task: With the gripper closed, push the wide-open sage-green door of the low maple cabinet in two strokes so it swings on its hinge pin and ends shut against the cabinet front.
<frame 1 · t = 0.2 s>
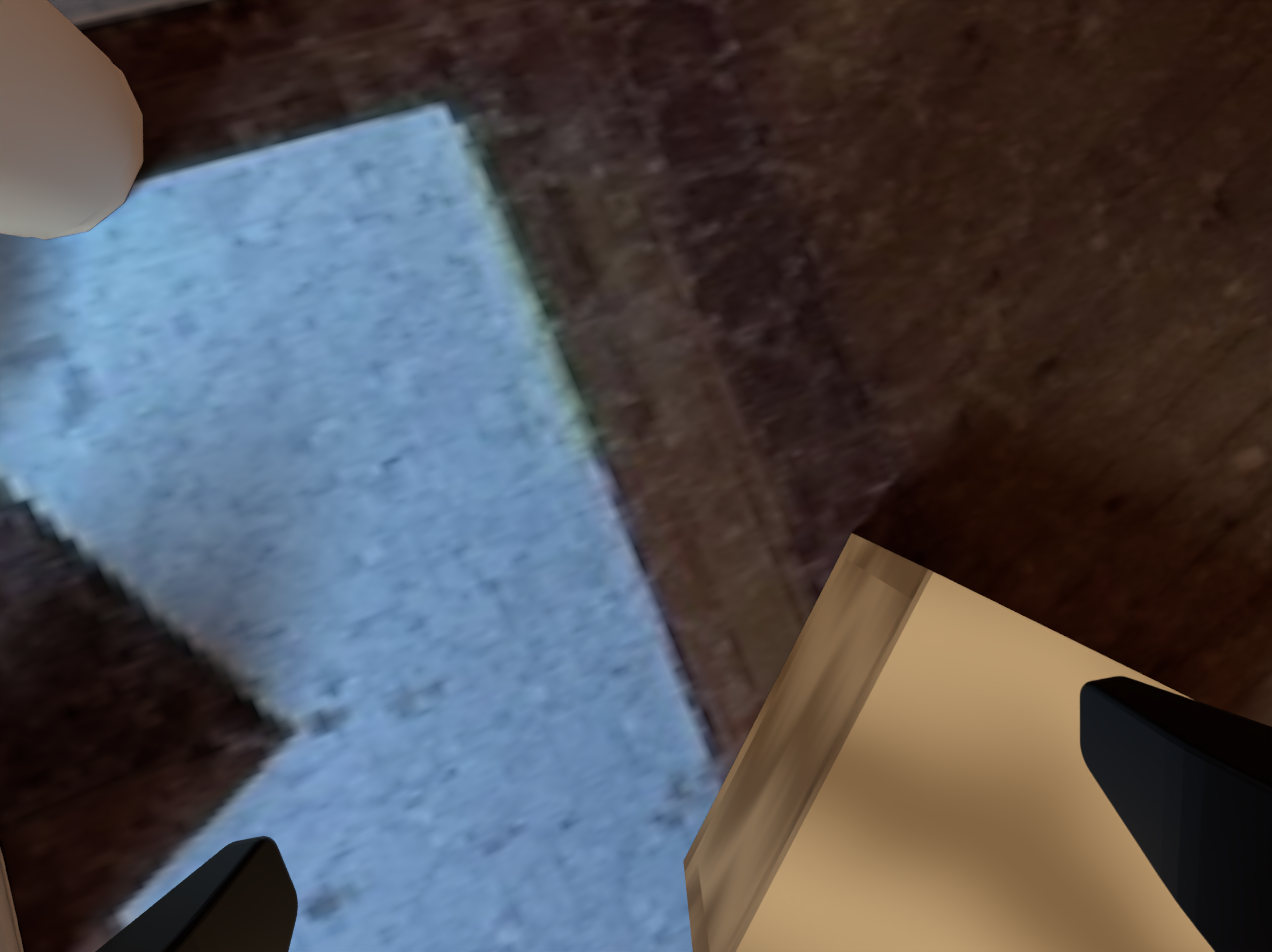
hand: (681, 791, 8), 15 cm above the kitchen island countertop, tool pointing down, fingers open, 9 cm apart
foam cup: (48, 137, 23), on the kitchen island countertop
cabinet: (932, 779, 24), on the kitchen island countertop
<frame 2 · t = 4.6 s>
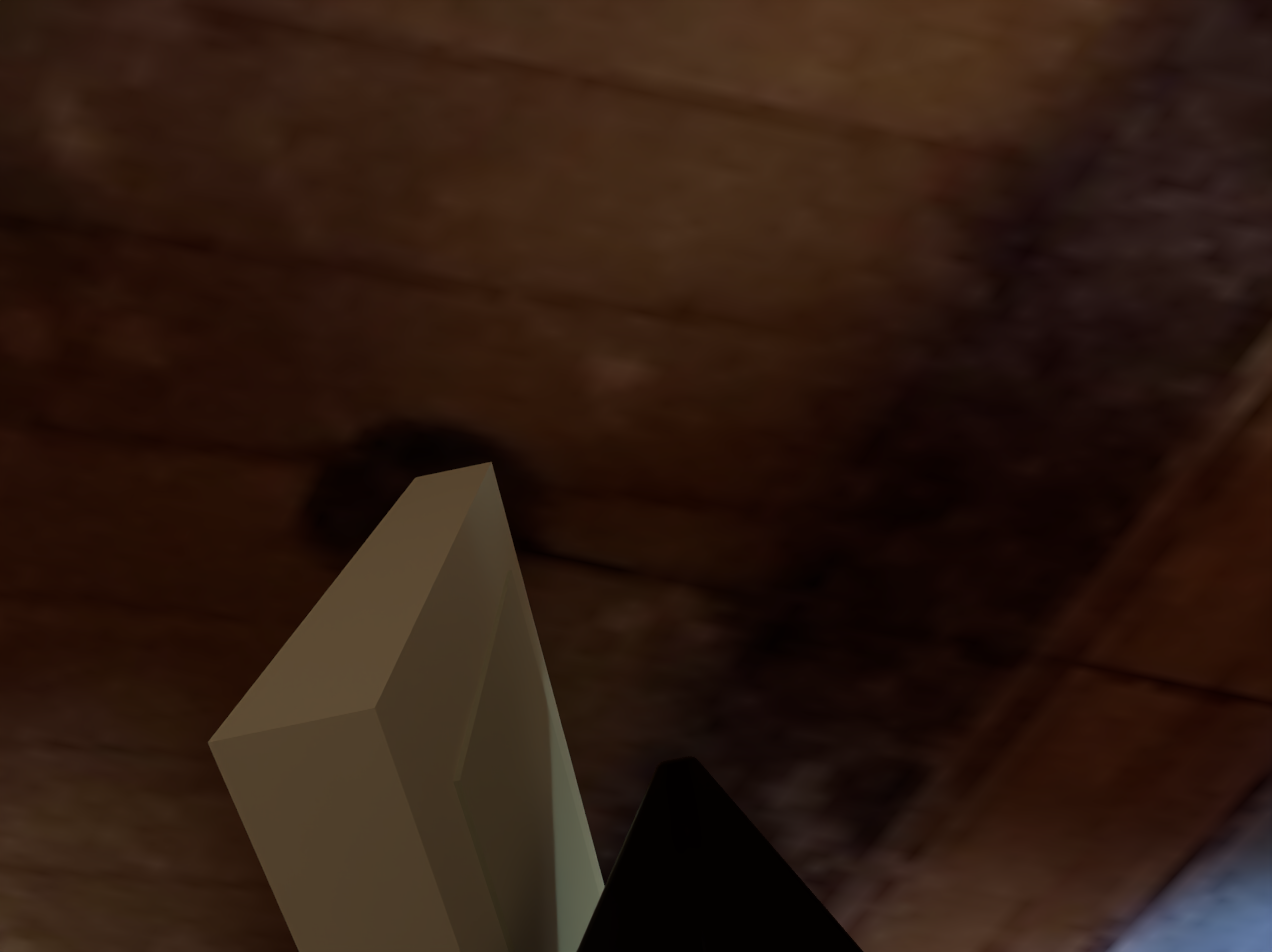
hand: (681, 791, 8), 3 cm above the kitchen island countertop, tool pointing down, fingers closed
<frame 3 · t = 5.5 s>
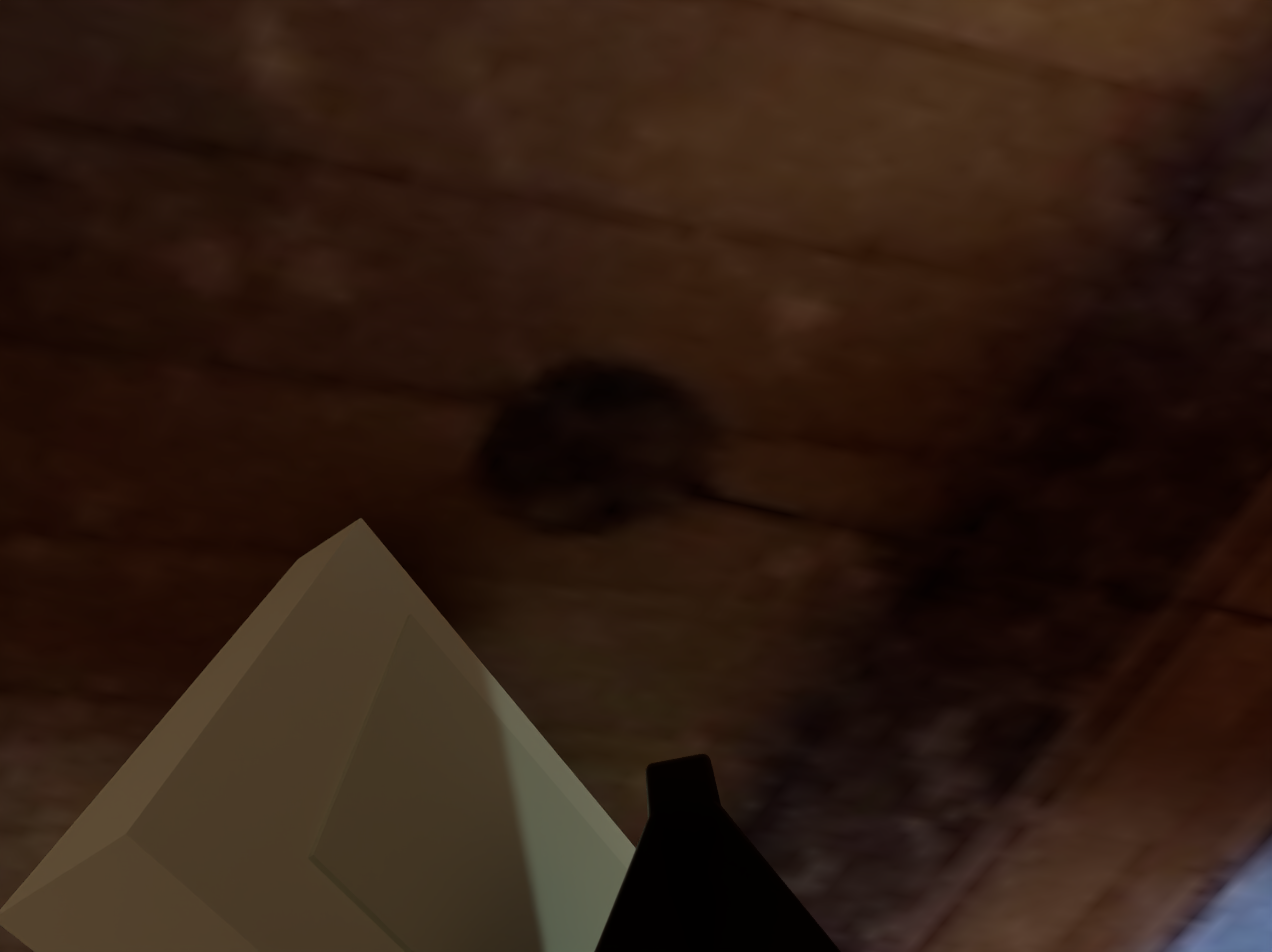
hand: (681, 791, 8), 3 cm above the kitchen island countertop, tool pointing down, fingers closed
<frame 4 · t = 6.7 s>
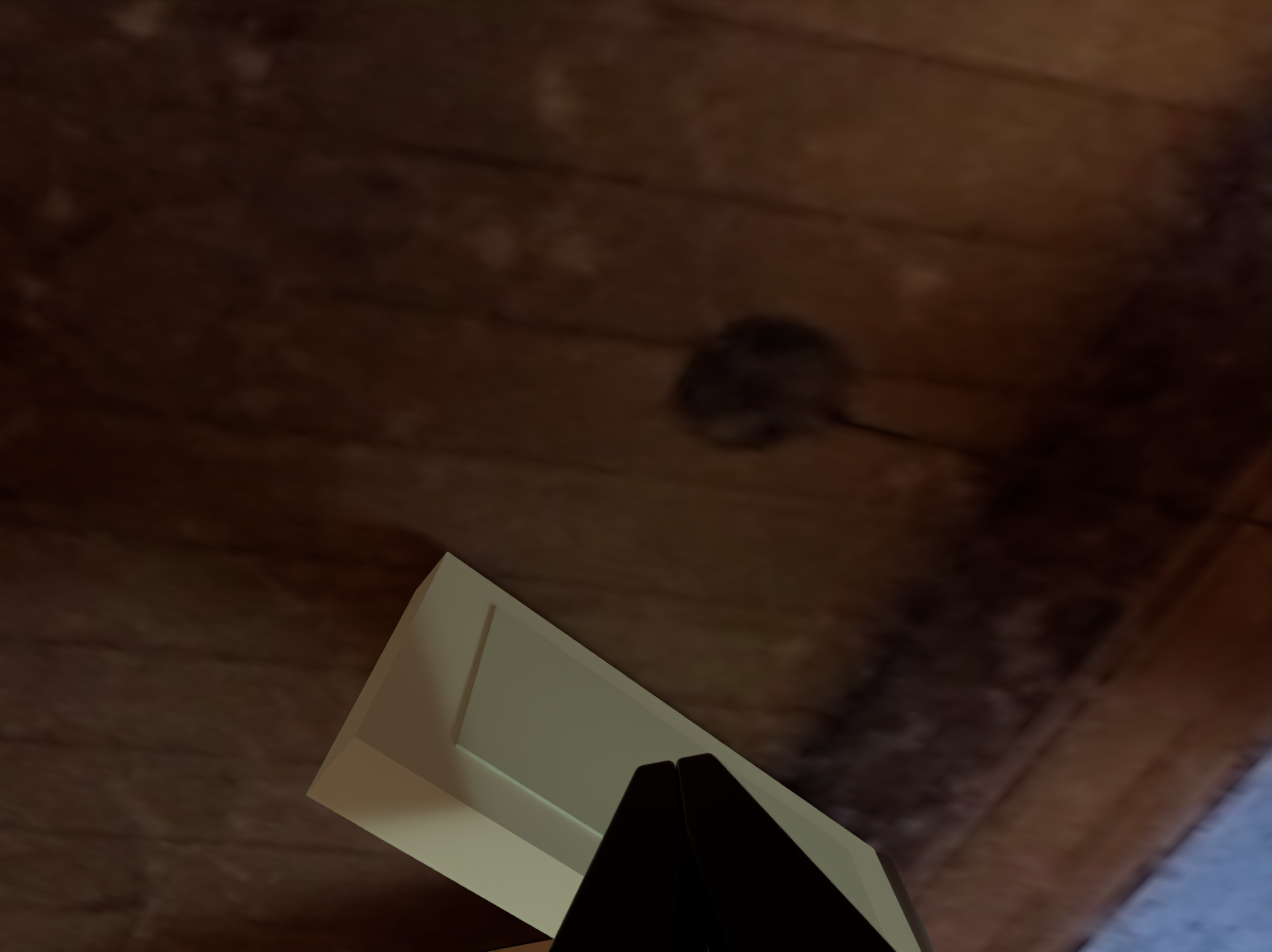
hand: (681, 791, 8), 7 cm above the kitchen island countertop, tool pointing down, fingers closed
door: (699, 843, 12), point 3 cm above the kitchen island countertop, hinge at -50.0°
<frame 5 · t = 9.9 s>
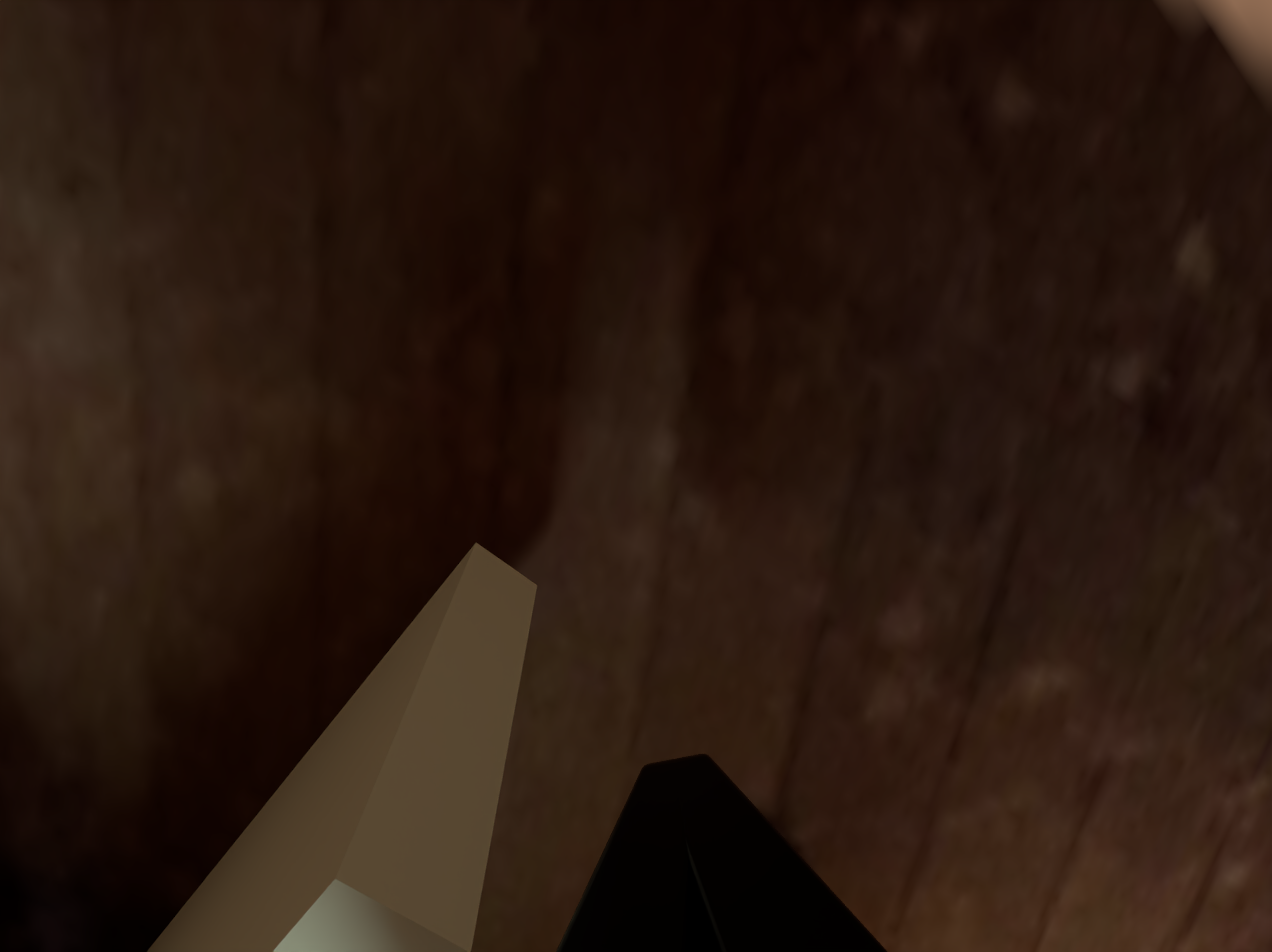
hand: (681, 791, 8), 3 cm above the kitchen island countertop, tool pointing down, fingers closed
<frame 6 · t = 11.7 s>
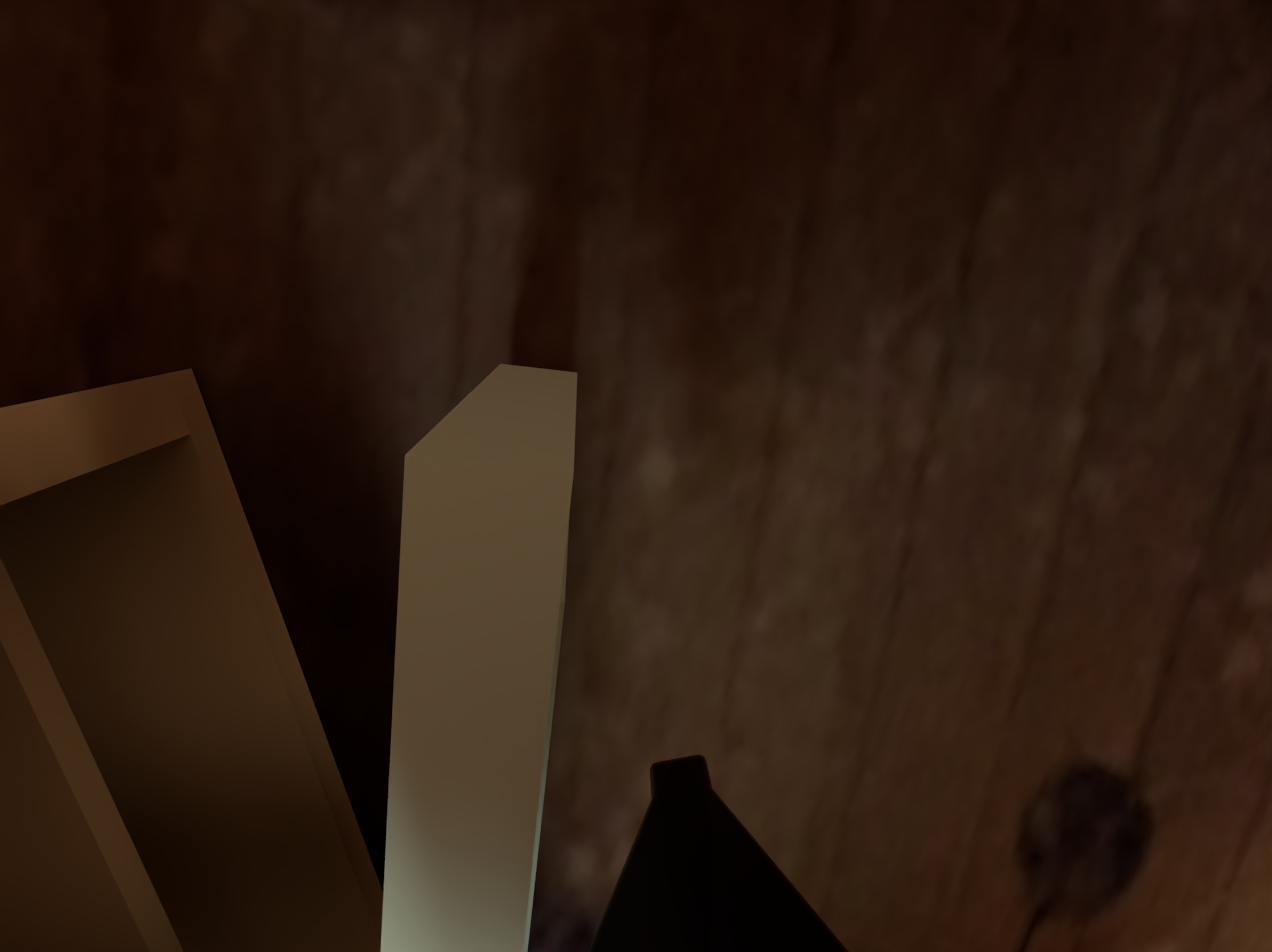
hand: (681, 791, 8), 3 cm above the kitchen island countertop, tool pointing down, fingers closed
door: (480, 923, 8), point 3 cm above the kitchen island countertop, hinge at -18.8°, touching gripper
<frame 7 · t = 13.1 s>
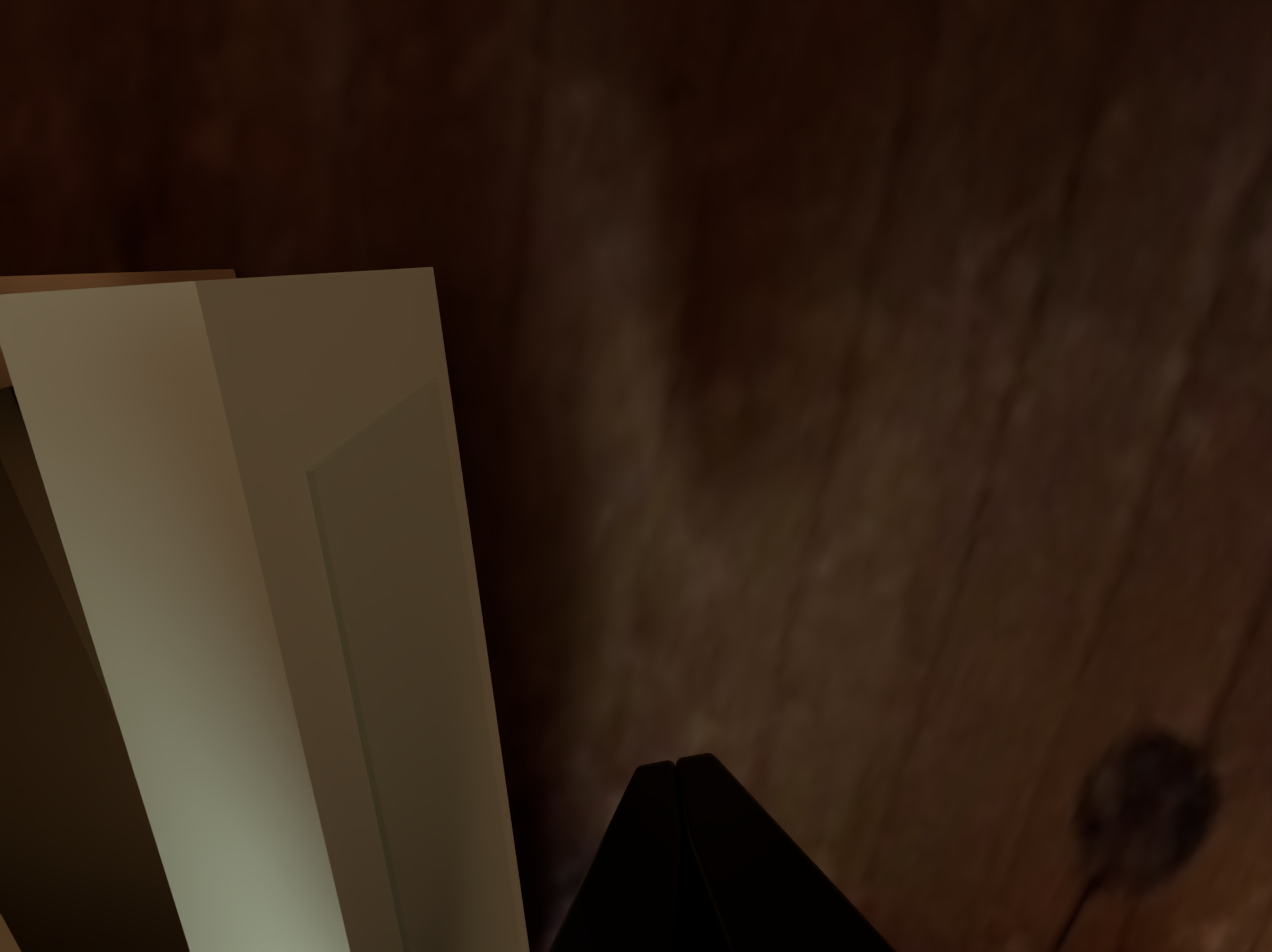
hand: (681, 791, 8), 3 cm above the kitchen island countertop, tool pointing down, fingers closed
door: (417, 862, 8), point 3 cm above the kitchen island countertop, hinge at -6.2°
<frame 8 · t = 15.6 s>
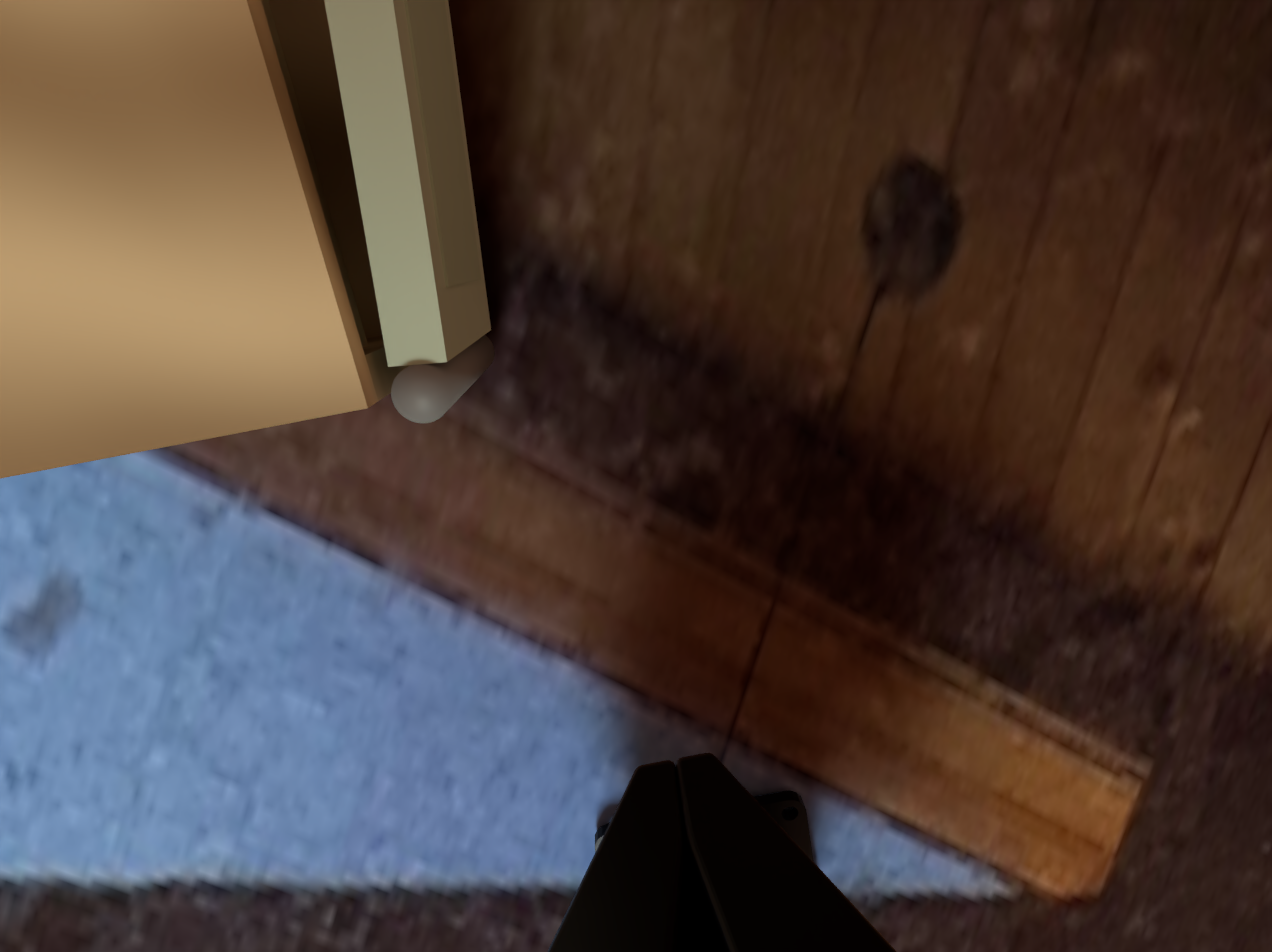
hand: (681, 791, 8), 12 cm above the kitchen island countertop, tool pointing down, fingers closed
cabinet: (117, 143, 17), on the kitchen island countertop
door: (408, 67, 14), point 3 cm above the kitchen island countertop, hinge at -6.1°
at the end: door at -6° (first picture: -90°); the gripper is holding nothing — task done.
